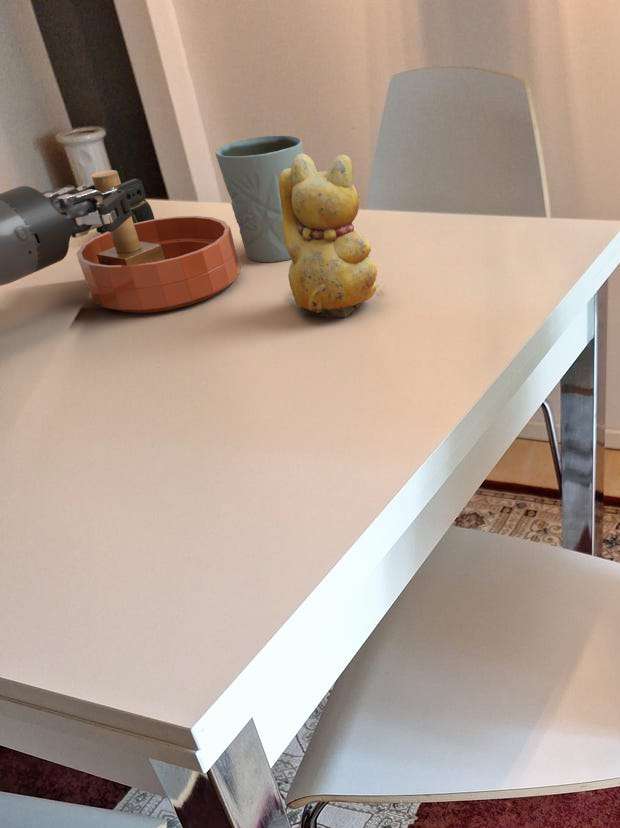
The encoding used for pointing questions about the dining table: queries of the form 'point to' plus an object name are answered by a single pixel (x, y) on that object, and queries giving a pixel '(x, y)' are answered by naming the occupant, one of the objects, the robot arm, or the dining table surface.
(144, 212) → the tape measure
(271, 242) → the grey-blue cup
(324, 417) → the dining table surface
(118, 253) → the wooden rod on block
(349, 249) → the decorative figurine
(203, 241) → the bowl
